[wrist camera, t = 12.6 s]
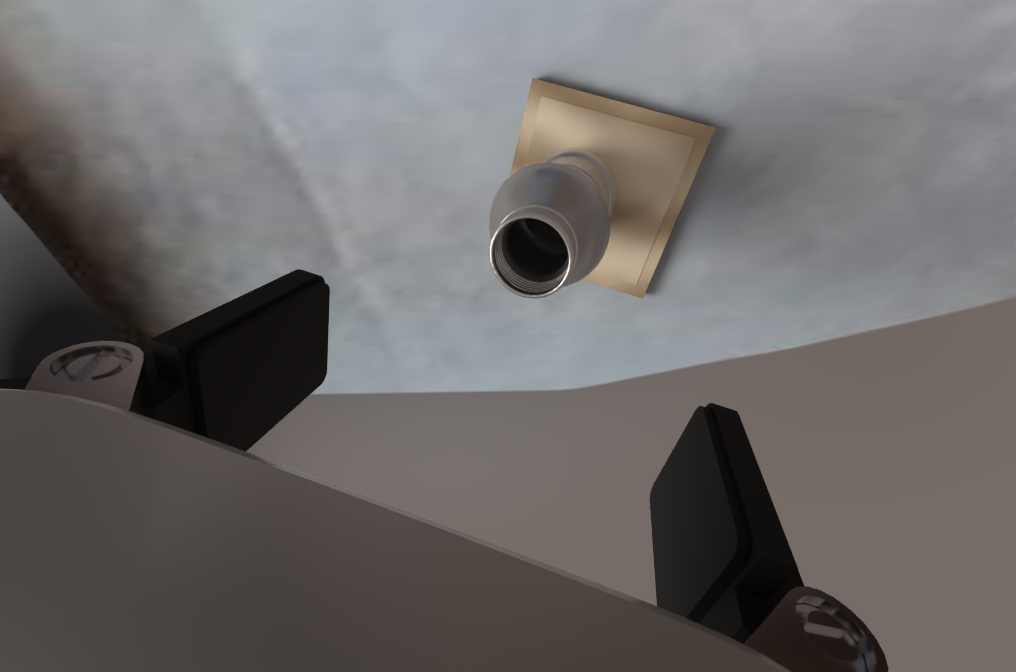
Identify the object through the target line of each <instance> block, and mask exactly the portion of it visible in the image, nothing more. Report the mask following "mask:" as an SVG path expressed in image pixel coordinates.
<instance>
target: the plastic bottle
mask: <svg viewBox="0 0 1016 672" xmlns="http://www.w3.org/2000/svg"><path fill="white" fill-rule="evenodd" d="M615 202H616V184H615V179H614V177H613V174H612V172H611V170H610V168H609V167H608V165H607V164H606V163H605V162H604V161H603V160H602V159H601V158H600V157H599V156H597V155H596V154H594V153H593V152H591V151H588V150H585V149H581V148H565V149H562V150H559V151H556V152H555V153H553V154H551V155H550V156H548V157H547V158H546V159H545V160H544V161H543V162H542V163H537V164H533V165H530V166H526V167H524V168H522V169H520V170H519V171H517V172H515V173H514V174H513V175H511V176H510V177H509V178H508V179H507V180H506V181H505V182H504V183H503V185H502V186H501V187H500V189H499V190H498V192H497V194H496V196H495V198H494V200H493V203H492V207H491V211H490V236H491V245H490V254H489V255H490V262H491V266H492V269H493V271H494V273H495V275H496V277H497V278H498V280H499V281H500V282H501V283H502V285H504V286H505V287H506V288H507V289H508V290H510V291H511V292H513V293H515V294H517V295H519V296H522V297H527V298H542V297H546V296H549V295H551V294H553V293H555V292H556V291H558V290H559V289H560V288H561V287H564V286H568V285H571V284H573V283H575V282H578V281H580V280H582V279H583V278H585V277H586V276H588V275H589V274H590V273H591V272H592V271H593V270H594V269H595V268H596V267H597V266H598V264H599V263H600V261H601V260H602V258H603V256H604V254H605V251H606V249H607V246H608V242H609V237H610V216H611V214H612V212H613V209H614V207H615Z"/></svg>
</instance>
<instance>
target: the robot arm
mask: <svg viewBox="0 0 1016 672" xmlns="http://www.w3.org/2000/svg"><path fill="white" fill-rule="evenodd" d="M329 295H330V290H329V286H328V285H327V284H325V281H324V278H323V277H322V276H319V275H316V274H313V273H310V272H307V271H304V270H300V269H298V270H295V271H293V272H291V273H289V274H287V275H284V276H282V277H280V278H278V279H276V280H274V281H272V282H270V283H268V284H265V285H263V286H261V287H259V288H257V289H255V290H253V291H251V292H249V293H247V294H244V295H242V296H240V297H238V298H236V299H234V300H232V301H230V302H228V303H225V304H223V305H221V306H219V307H217V308H215V309H213V310H211V311H209V312H207V313H204V314H202V315H200V316H198V317H196V318H194V319H192V320H190V321H188V322H185V323H183V324H181V325H179V326H177V327H175V328H173V329H171V330H169V331H167V332H164V333H162V334H160V335H158V336H156V337H154V338H152V339H150V340H151V345H152V350H153V351H151V352H149V353H147V354H145V355H143V352H142V351H141V350H140V349H139V348H138V347H136V346H133V345H131V344H128V343H123V342H117V341H116V342H115V341H98V342H89V343H84V344H79V345H75V346H70V347H68V348H65V349H62V350H59V351H57V352H55V353H53V354H52V355H50V356H48V357H46V358H45V359H44V360H43V361H42V362H41V363H40V364H39V365H38V367H37V369H36V371H35V372H34V374H33V376H30V377H21V378H11V379H10V378H9V379H0V672H888V665H887V661H886V658H885V654H884V652H883V650H882V649H881V647H880V645H879V643H878V641H877V639H876V638H875V637H874V635H873V634H872V633H871V632H870V630H869V629H868V628H867V626H866V625H865V624H864V622H862V620H860V619H859V618H858V617H857V616H856V615H855V614H854V613H853V612H852V611H851V610H850V609H849V608H847V607H846V606H845V605H843V604H842V603H841V602H840V601H838V600H837V599H835V598H834V597H832V596H830V595H828V594H826V593H825V592H823V591H821V590H818V589H814V588H811V587H806V586H804V584H803V582H802V579H801V576H800V574H799V571H798V567H797V565H796V562H795V560H794V557H793V554H792V552H791V549H790V547H789V544H788V541H787V539H786V536H785V533H784V531H783V529H782V526H781V523H780V520H779V518H778V515H777V513H776V510H775V508H774V505H773V502H772V500H771V497H770V494H769V492H768V489H767V487H766V484H765V481H764V479H763V476H762V474H761V471H760V469H759V466H758V463H757V461H756V458H755V456H754V453H753V450H752V448H751V445H750V443H749V440H748V437H747V435H746V432H745V429H744V427H743V424H742V422H741V419H740V416H739V414H738V412H737V411H734V410H732V409H729V408H726V407H722V406H719V405H716V404H713V403H710V404H708V405H707V406H706V407H702V406H699V407H698V408H697V409H696V410H695V412H694V414H693V416H692V418H691V419H690V421H689V423H688V424H687V426H686V428H685V430H684V432H683V433H682V435H681V437H680V439H679V440H678V442H677V444H676V446H675V448H674V449H673V451H672V453H671V454H670V456H669V458H668V460H667V462H666V463H665V465H664V467H663V469H662V470H661V472H660V474H659V476H658V477H657V479H656V481H655V483H654V485H653V487H652V490H651V494H650V509H651V524H652V539H653V553H654V567H655V582H656V597H657V606H654V605H652V604H649V603H647V602H645V601H642V600H639V599H637V598H634V597H632V596H629V595H627V594H624V593H622V592H619V591H617V590H614V589H611V588H609V587H606V586H604V585H601V584H599V583H596V582H593V581H591V580H588V579H586V578H583V577H580V576H578V575H575V574H573V573H570V572H567V571H565V570H562V569H559V568H556V567H554V566H551V565H548V564H546V563H543V562H541V561H538V560H536V559H533V558H530V557H527V556H525V555H522V554H520V553H517V552H514V551H512V550H509V549H507V548H504V547H501V546H499V545H496V544H493V543H491V542H488V541H485V540H483V539H480V538H477V537H474V536H472V535H469V534H467V533H464V532H462V531H459V530H456V529H453V528H451V527H448V526H445V525H443V524H440V523H437V522H435V521H432V520H429V519H427V518H424V517H421V516H419V515H416V514H413V513H411V512H408V511H405V510H403V509H400V508H397V507H395V506H392V505H389V504H386V503H383V502H381V501H378V500H376V499H373V498H370V497H368V496H365V495H362V494H360V493H357V492H354V491H351V490H349V489H346V488H343V487H341V486H338V485H335V484H332V483H330V482H327V481H324V480H321V479H319V478H316V477H313V476H311V475H308V474H305V473H302V472H300V471H297V470H294V469H292V468H289V467H286V466H283V465H281V464H278V463H275V462H272V461H270V460H267V459H264V458H262V457H259V456H256V455H253V454H251V453H248V452H246V451H247V450H248V449H249V448H250V447H251V446H252V445H254V443H256V442H257V441H258V440H259V439H260V438H262V436H264V435H265V434H266V433H267V432H268V431H269V430H270V429H272V428H273V427H274V426H275V425H276V424H277V423H278V422H279V421H281V420H282V419H283V418H284V417H285V416H286V415H287V414H288V413H290V412H291V411H292V410H293V409H294V408H295V407H296V406H297V405H299V404H300V403H301V402H302V401H303V400H304V399H305V398H306V397H307V396H309V395H310V394H311V393H312V392H313V391H314V390H315V389H316V388H318V387H319V386H320V385H321V384H322V382H323V381H324V379H325V377H326V374H327V355H328V325H329Z"/></svg>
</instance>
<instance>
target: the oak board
mask: <svg viewBox="0 0 1016 672" xmlns="http://www.w3.org/2000/svg"><path fill="white" fill-rule="evenodd" d="M715 129H716V128H715V127H712V126H708V125H704V124H700V123H697V122H693V121H689V120H686V119H682V118H678V117H675V116H671V115H667V114H664V113H660V112H656V111H652V110H649V109H645V108H641V107H638V106H634V105H630V104H627V103H623V102H619V101H616V100H612V99H608V98H604V97H601V96H597V95H593V94H590V93H586V92H582V91H579V90H575V89H571V88H567V87H564V86H560V85H556V84H553V83H549V82H545V81H542V80H538V79H534V78H533V79H532V83H531V87H530V92H529V96H528V101H527V105H526V109H525V114H524V118H523V122H522V127H521V131H520V135H519V140H518V144H517V149H516V153H515V157H514V162H513V166H512V170H511V175H513V174H514V173H515V172H517V171H519V170H520V169H522V168H524V167H526V166H530V165H533V164H537V163H542V162H543V161H544V160H545V159H546V158H547V157H548V156H550V155H551V154H553V153H555V152H556V151H559V150H562V149H565V148H581V149H585V150H588V151H591V152H593V153H594V154H596V155H597V156H599V157H600V158H601V159H602V160H603V161H604V162H605V163H606V164H607V165H608V167H609V168H610V170H611V172H612V174H613V177H614V179H615V184H616V202H615V207H614V209H613V212H612V214H611V216H610V237H609V242H608V246H607V249H606V251H605V254H604V256H603V258H602V260H601V261H600V263H599V264H598V266H597V267H596V268H595V269H594V270H593V271H592V272H591V273H590V274H589V275H588V276H586V277H585V278H583V279H582V280H585V281H589V282H592V283H595V284H598V285H601V286H605V287H608V288H611V289H614V290H617V291H621V292H624V293H627V294H630V295H633V296H637V297H640V298H643V297H644V295H645V292H646V290H647V288H648V285H649V283H650V281H651V278H652V276H653V274H654V271H655V269H656V267H657V264H658V262H659V260H660V257H661V255H662V253H663V250H664V248H665V246H666V243H667V241H668V239H669V236H670V234H671V231H672V229H673V227H674V224H675V222H676V220H677V217H678V215H679V213H680V210H681V208H682V206H683V203H684V201H685V199H686V196H687V194H688V192H689V189H690V187H691V185H692V182H693V180H694V178H695V175H696V173H697V171H698V168H699V166H700V164H701V161H702V159H703V157H704V154H705V152H706V150H707V147H708V145H709V143H710V140H711V138H712V136H713V133H714V131H715ZM511 175H510V176H511Z"/></svg>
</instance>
